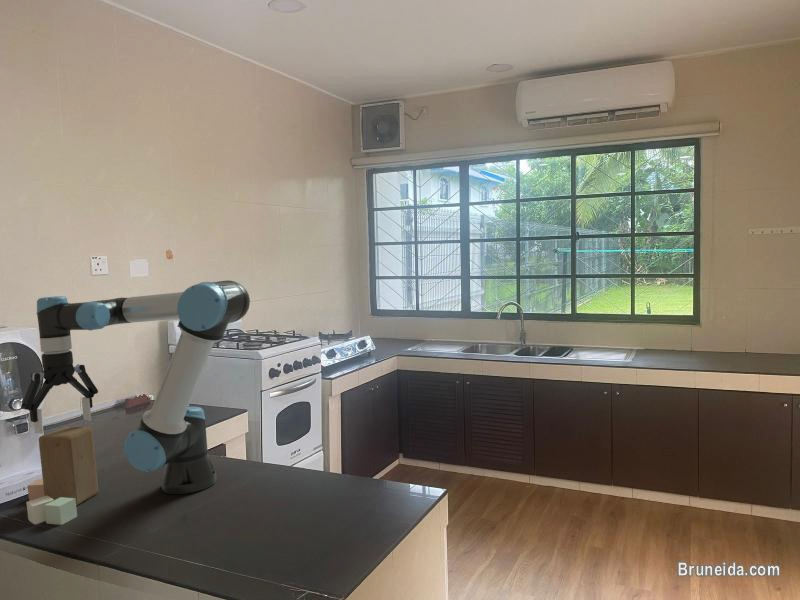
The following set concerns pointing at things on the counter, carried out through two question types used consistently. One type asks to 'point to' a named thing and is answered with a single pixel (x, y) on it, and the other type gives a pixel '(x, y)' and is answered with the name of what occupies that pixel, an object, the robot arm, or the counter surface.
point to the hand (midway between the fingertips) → (64, 426)
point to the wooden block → (69, 463)
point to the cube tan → (36, 489)
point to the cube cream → (37, 509)
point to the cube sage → (60, 510)
